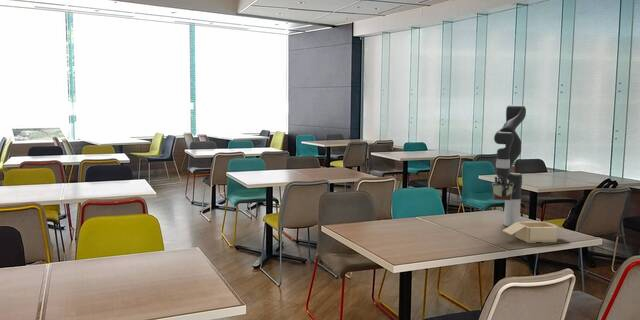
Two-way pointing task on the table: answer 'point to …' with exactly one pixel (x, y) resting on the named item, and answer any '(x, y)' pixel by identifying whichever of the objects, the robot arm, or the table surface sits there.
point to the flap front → (513, 228)
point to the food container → (498, 191)
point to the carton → (537, 232)
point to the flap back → (559, 227)
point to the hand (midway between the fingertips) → (501, 195)
